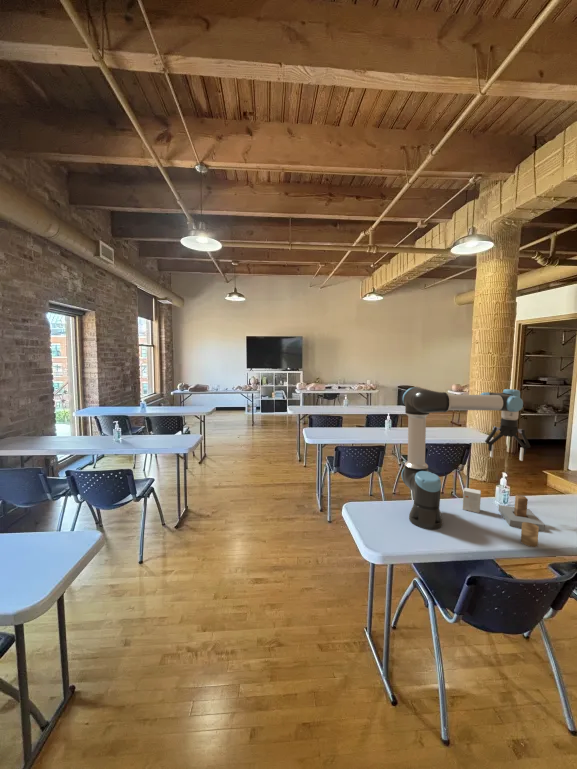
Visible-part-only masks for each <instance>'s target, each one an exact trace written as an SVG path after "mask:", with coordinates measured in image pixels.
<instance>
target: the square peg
mask: <svg viewBox="0 0 577 769" xmlns="http://www.w3.org/2000/svg"><path fill="white" fill-rule="evenodd" d="M528 500H529V499H528V498H527V497H526V495H525V496H524V495H519V494H518V495H517V494H515V497H514V507H515V508H514V514H515V516H520V517H526V514H527V509H528V503H529V502H528Z"/></svg>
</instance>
